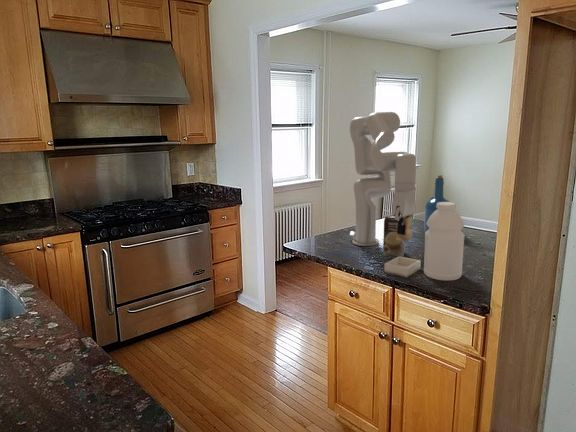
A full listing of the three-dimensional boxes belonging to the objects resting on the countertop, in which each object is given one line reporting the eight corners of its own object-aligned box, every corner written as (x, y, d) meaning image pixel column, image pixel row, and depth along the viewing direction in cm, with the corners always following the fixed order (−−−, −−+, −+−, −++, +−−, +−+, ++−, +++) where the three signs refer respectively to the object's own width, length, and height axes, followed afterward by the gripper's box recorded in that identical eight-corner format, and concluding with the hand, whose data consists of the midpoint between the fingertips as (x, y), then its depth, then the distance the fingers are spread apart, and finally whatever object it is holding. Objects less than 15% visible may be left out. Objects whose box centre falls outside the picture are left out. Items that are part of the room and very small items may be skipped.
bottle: (457, 283, 156) (462, 208, 150) (419, 277, 164) (422, 205, 157) (465, 271, 168) (469, 201, 162) (428, 266, 175) (431, 198, 169)
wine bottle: (454, 235, 217) (457, 176, 210) (428, 236, 217) (430, 177, 210) (445, 228, 230) (448, 172, 223) (420, 229, 230) (422, 173, 223)
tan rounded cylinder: (396, 239, 169) (396, 217, 167) (400, 237, 171) (401, 215, 169) (407, 241, 166) (407, 218, 164) (411, 239, 168) (411, 216, 166)
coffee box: (382, 255, 191) (383, 219, 187) (384, 250, 197) (384, 216, 193) (403, 256, 188) (404, 220, 184) (404, 252, 194) (405, 217, 190)
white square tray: (384, 272, 170) (384, 263, 170) (398, 264, 179) (398, 256, 178) (406, 277, 164) (407, 268, 163) (420, 268, 173) (420, 260, 172)
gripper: (405, 182, 172) (404, 227, 176) (385, 188, 160) (384, 236, 164) (423, 184, 167) (422, 230, 171) (403, 190, 155) (402, 239, 159)
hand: (403, 232), depth 168 cm, fingers closed on tan rounded cylinder, 3 cm apart
